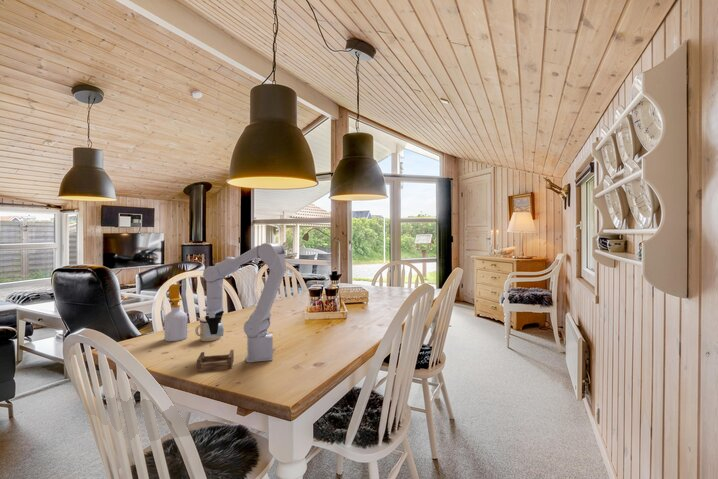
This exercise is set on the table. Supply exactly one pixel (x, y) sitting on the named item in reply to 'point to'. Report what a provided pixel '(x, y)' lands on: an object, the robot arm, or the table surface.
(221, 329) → the roll
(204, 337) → the beige mug
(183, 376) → the table surface
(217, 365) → the holder
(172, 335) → the soap bottle
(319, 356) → the table surface
